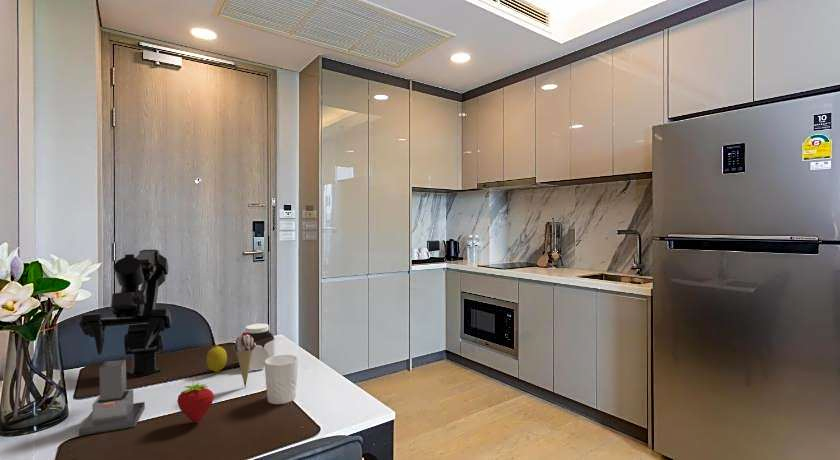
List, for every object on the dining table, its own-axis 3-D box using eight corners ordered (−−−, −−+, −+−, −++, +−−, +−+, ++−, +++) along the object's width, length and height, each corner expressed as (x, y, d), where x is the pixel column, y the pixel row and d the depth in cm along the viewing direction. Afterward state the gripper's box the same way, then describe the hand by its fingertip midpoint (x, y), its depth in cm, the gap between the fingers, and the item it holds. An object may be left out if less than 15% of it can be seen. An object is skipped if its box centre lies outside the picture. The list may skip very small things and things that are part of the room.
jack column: (105, 411, 98) (104, 361, 97) (126, 408, 99) (126, 359, 99) (100, 419, 94) (99, 367, 93) (122, 415, 95) (121, 365, 95)
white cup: (304, 395, 111) (303, 356, 111) (285, 407, 103) (284, 366, 103) (278, 390, 113) (278, 353, 113) (258, 403, 106) (257, 362, 106)
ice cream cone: (261, 385, 117) (260, 330, 117) (244, 393, 112) (244, 336, 111) (245, 382, 119) (245, 328, 119) (228, 389, 114) (228, 333, 114)
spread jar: (264, 356, 142) (263, 321, 141) (285, 363, 135) (285, 326, 135) (229, 366, 132) (229, 329, 132) (251, 374, 125) (250, 334, 125)
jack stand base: (94, 415, 99) (93, 391, 99) (144, 408, 103) (144, 385, 103) (78, 435, 90) (78, 409, 90) (135, 426, 94) (134, 401, 94)
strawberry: (206, 429, 93) (205, 383, 92) (171, 429, 93) (170, 383, 92) (219, 416, 99) (218, 373, 98) (186, 416, 99) (186, 373, 98)
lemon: (219, 376, 124) (218, 349, 123) (202, 375, 125) (202, 347, 124) (231, 370, 129) (231, 343, 129) (215, 368, 130) (214, 342, 130)
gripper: (80, 281, 104) (64, 338, 94) (169, 277, 111) (162, 330, 102) (92, 307, 112) (77, 362, 102) (174, 302, 119) (168, 353, 109)
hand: (122, 351), depth 103 cm, fingers open, 9 cm apart
